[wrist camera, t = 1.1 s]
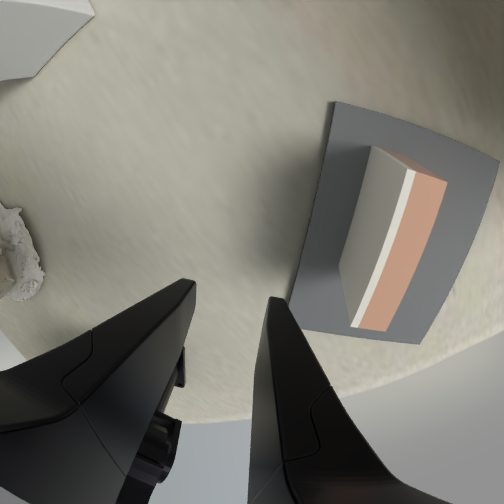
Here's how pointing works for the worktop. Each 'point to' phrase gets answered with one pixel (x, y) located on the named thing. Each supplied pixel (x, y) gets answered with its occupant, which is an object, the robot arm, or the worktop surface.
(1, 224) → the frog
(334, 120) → the mat
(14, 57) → the milk carton
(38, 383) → the robot arm
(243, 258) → the worktop surface
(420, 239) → the tile
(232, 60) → the worktop surface
